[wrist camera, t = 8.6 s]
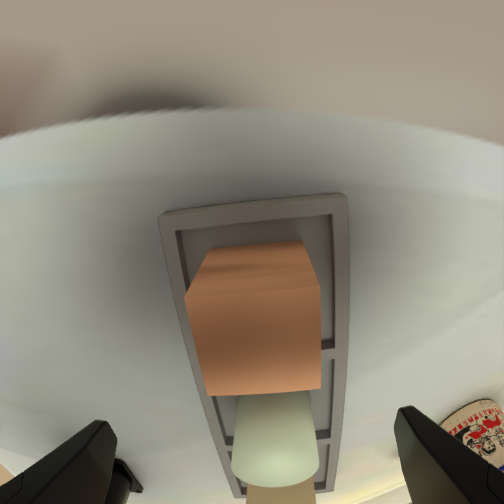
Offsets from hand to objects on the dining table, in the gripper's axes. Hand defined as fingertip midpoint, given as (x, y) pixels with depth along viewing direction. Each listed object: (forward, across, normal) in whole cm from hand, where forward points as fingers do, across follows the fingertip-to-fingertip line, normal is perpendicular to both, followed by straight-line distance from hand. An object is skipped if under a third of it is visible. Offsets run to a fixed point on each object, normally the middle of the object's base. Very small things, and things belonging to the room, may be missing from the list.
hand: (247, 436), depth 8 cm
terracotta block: (+10, 0, 0) cm, 10 cm away
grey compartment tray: (+11, 0, +9) cm, 14 cm away
